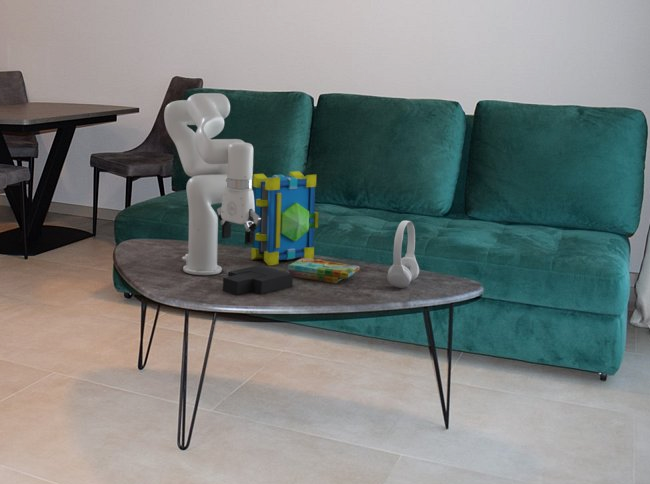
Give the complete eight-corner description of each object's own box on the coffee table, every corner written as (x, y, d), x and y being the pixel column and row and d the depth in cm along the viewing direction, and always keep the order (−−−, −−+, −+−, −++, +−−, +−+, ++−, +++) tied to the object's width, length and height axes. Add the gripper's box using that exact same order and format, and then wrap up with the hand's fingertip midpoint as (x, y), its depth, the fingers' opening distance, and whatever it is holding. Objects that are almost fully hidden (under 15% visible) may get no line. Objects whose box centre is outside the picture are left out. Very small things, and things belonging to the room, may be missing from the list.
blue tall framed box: (320, 260, 286) (322, 175, 283) (267, 267, 274) (270, 178, 271) (294, 251, 298) (296, 170, 295) (242, 258, 286) (244, 173, 283)
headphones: (383, 289, 249) (386, 224, 247) (398, 276, 265) (401, 215, 263) (407, 293, 245) (409, 227, 244) (421, 279, 261) (423, 217, 260)
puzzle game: (301, 255, 271) (359, 263, 262) (300, 269, 272) (359, 278, 262) (287, 262, 261) (348, 271, 252) (287, 277, 262) (347, 286, 252)
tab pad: (237, 295, 240) (237, 281, 240) (222, 290, 244) (223, 277, 244) (265, 288, 248) (265, 275, 247) (250, 284, 252) (251, 271, 252)
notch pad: (227, 284, 252) (228, 271, 251) (259, 277, 261) (259, 264, 261) (261, 294, 241) (261, 280, 241) (292, 286, 251) (293, 273, 250)
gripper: (210, 181, 246) (208, 237, 248) (251, 189, 233) (249, 248, 235) (228, 179, 251) (226, 233, 253) (269, 187, 238) (267, 244, 240)
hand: (237, 240), depth 244 cm, fingers open, 9 cm apart
